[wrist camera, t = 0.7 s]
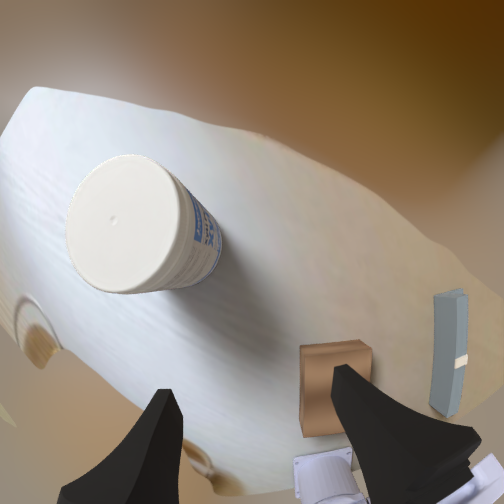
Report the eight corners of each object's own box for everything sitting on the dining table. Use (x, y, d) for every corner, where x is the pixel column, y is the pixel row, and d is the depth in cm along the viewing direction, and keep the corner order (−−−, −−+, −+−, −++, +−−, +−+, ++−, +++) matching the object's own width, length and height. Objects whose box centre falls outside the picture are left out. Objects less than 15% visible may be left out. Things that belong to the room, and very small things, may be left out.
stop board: (454, 392, 27) (474, 404, 22) (428, 404, 27) (447, 418, 22) (459, 288, 28) (484, 289, 23) (433, 295, 28) (458, 298, 23)
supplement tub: (241, 241, 30) (219, 213, 15) (184, 304, 30) (119, 329, 15) (180, 187, 31) (123, 127, 16) (129, 247, 30) (45, 229, 16)
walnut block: (353, 411, 28) (364, 428, 23) (299, 418, 28) (303, 437, 24) (358, 338, 29) (372, 348, 24) (299, 344, 29) (305, 356, 24)
